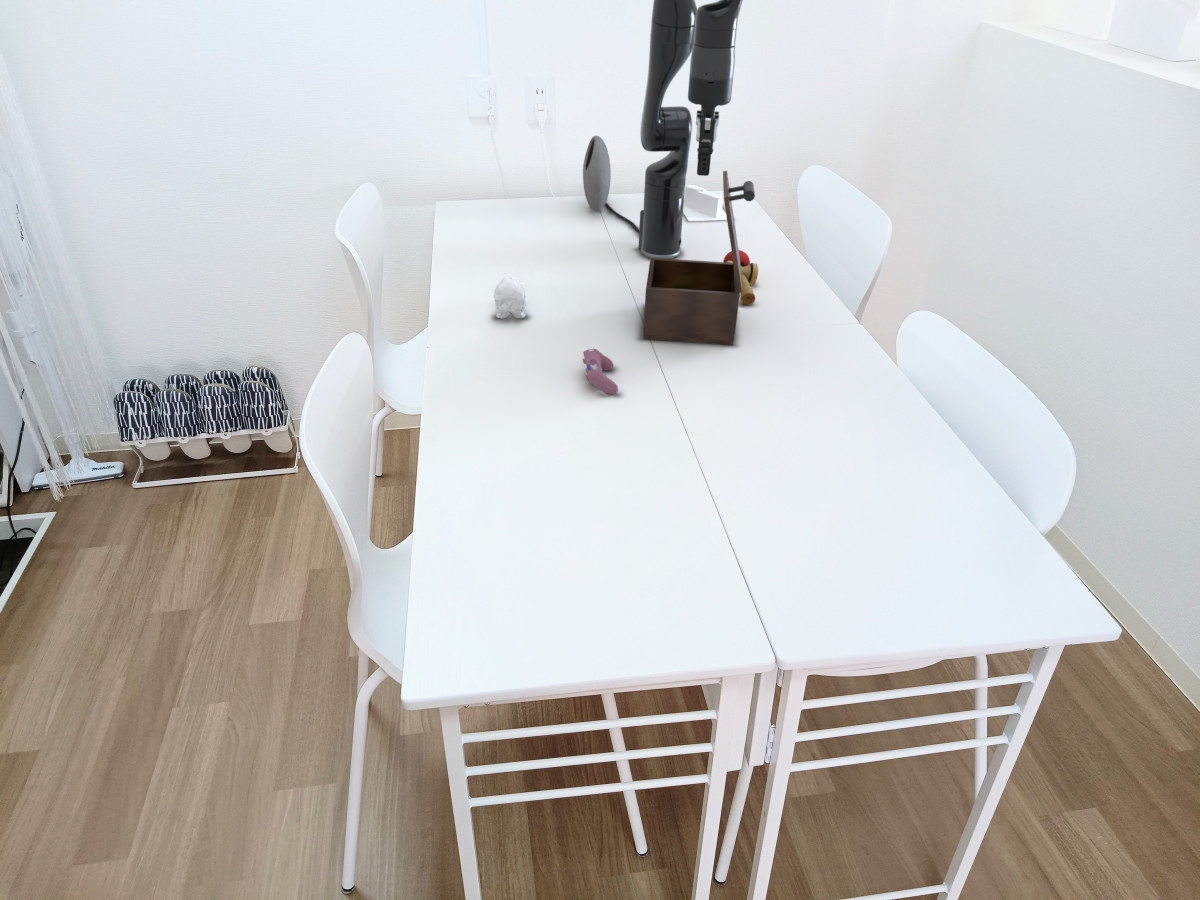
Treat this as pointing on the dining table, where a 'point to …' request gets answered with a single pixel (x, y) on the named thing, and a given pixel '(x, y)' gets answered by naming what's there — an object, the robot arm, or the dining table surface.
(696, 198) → the napkin holder
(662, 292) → the toy chest
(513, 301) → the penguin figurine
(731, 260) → the kendama
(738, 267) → the lid
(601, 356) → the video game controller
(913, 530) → the dining table surface
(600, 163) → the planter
